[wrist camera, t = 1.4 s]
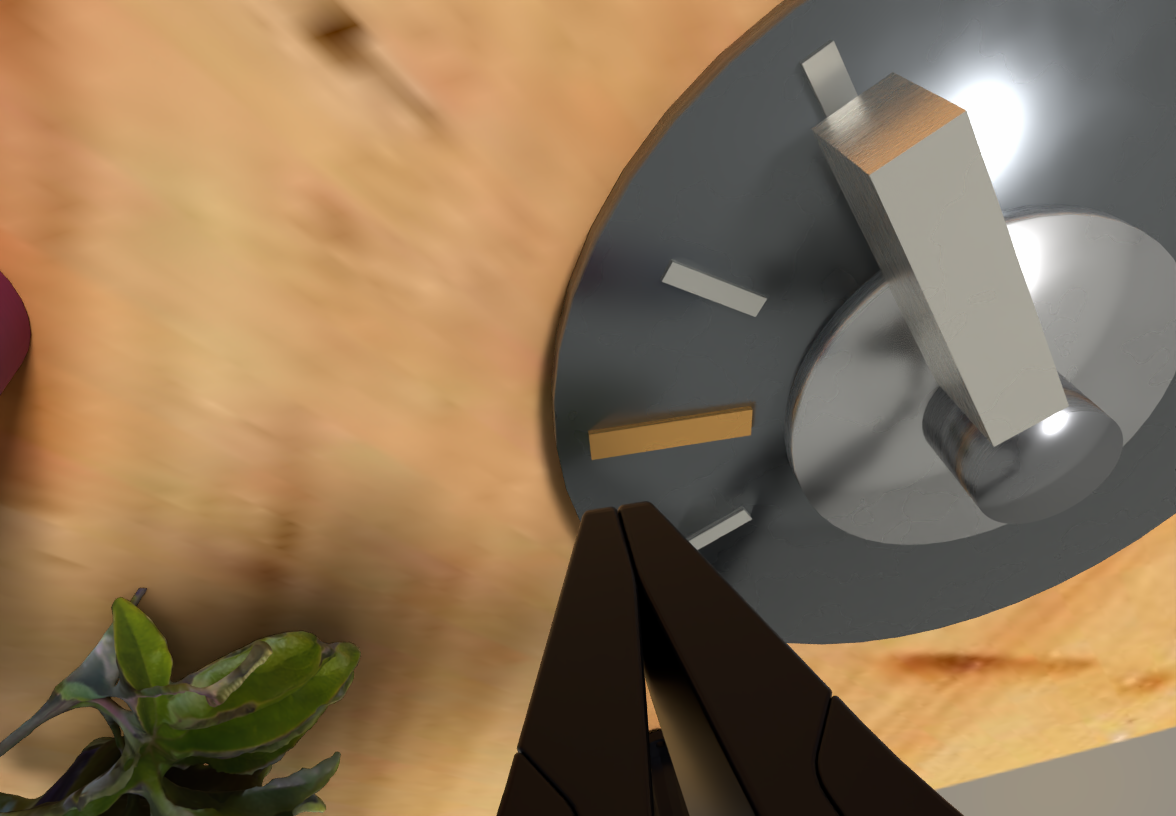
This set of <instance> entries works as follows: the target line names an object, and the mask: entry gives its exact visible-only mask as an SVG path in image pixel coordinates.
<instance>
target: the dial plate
mask: <svg viewBox="0 0 1176 816" xmlns="http://www.w3.org/2000/svg"><path fill="white" fill-rule="evenodd" d="M892 72H894V73H896V74H898V75H900V76H901V77H903V78H905V79H907V80H909V81H911V82H913V83H915V84H917V85H919V86H921V87H923V88H925V89H927V90H928V91H930V92H932V93H934V94H936V95H938V96H940V97H942V98H944V99H946V100H948V101H950V102H952V103H954V104H955V105H957V106H959V107H961V108H963V109H965V110H967V113H968V116H969V118H970V121H971V124H972V127H973V130H974V133H975V136H976V139H977V142H978V144H979V147H980V150H981V153H982V156H983V159H984V162H985V165H986V168H987V170H988V173H989V176H990V179H991V182H992V185H993V188H994V191H995V194H996V196H997V199H998V202H999V205H1000V208H1001V211H1002V210H1006V209H1011V208H1016V207H1021V206H1030V205H1043V204H1062V205H1078V206H1082V207H1087V208H1091V209H1096V210H1100V211H1103V212H1105V213H1108V214H1110V215H1112V216H1115V217H1117V218H1119V219H1122V220H1123V221H1125V222H1127V223H1129V224H1130V225H1132V226H1134V227H1136V228H1138V229H1139V230H1141V231H1143V232H1144V233H1146V234H1147V235H1149V236H1150V237H1152V238H1153V239H1154V240H1156V241H1157V242H1159V243H1160V244H1161V245H1162V246H1163V247H1164V248H1165V250H1166V251H1167V252H1168V253H1169V254H1170V255H1171V256H1172V257H1173V259H1174V260H1175V262H1176V0H784V1H783V2H781V3H780V4H779V5H777V6H776V7H775V8H774V9H773V10H771V11H770V12H769V13H768V14H767V15H766V16H764V17H763V18H762V19H761V20H760V21H759V22H757V23H756V24H755V25H754V26H753V27H751V28H750V29H749V30H748V31H747V32H746V33H744V34H743V35H742V36H741V37H740V38H738V39H737V40H736V41H735V42H734V43H733V44H731V45H730V46H729V47H728V48H727V49H725V50H724V51H723V52H722V53H721V54H720V55H719V56H718V57H717V58H716V59H715V60H714V61H713V62H712V63H711V64H710V65H709V66H708V67H707V68H706V69H705V71H704V72H703V73H702V74H701V75H700V76H699V77H698V78H697V79H696V80H695V81H694V82H693V83H692V84H691V85H690V87H689V88H688V89H687V90H686V91H685V92H684V93H683V94H682V95H681V96H680V97H679V98H678V99H677V100H676V102H675V103H674V104H673V105H672V106H671V107H670V108H669V109H668V110H667V111H666V113H665V114H664V115H663V117H662V118H661V119H660V121H659V122H658V123H657V125H656V126H655V128H654V129H653V130H652V132H651V133H650V134H649V136H648V137H647V138H646V140H645V141H644V142H643V144H642V145H641V147H640V148H639V149H638V151H637V152H636V153H635V155H634V156H633V157H632V159H631V160H630V161H629V163H628V164H627V166H626V167H625V168H624V170H623V172H622V173H621V175H620V177H619V179H618V181H617V182H616V184H615V186H614V188H613V189H612V191H611V193H610V195H609V197H608V198H607V200H606V202H605V204H604V205H603V207H602V209H601V211H600V213H599V214H598V216H597V218H596V220H595V221H594V223H593V225H592V227H591V229H590V232H589V234H588V237H587V239H586V242H585V244H584V247H583V249H582V252H581V254H580V257H579V259H578V262H577V264H576V266H575V269H574V271H573V274H572V276H571V279H570V281H569V285H568V289H567V293H566V297H565V301H564V305H563V309H562V313H561V317H560V320H559V324H558V328H557V332H556V338H555V348H554V358H553V369H552V379H551V393H552V410H553V427H554V434H555V440H556V446H557V451H558V455H559V459H560V464H561V468H562V472H563V477H564V481H565V485H566V489H567V492H568V494H569V496H570V499H571V501H572V503H573V506H574V508H575V510H576V513H577V515H578V517H579V520H580V522H581V519H582V516H583V514H584V513H585V512H586V511H587V510H593V509H599V508H605V507H615V508H616V509H617V511H618V508H619V507H620V506H621V505H623V504H630V503H636V502H642V501H648V502H651V503H652V504H653V505H654V506H656V508H657V509H658V510H659V511H660V512H661V513H662V514H663V515H664V516H665V517H666V518H667V519H668V520H669V521H670V522H671V523H672V524H673V525H674V526H675V527H676V528H677V529H678V531H679V532H680V533H681V534H682V535H683V536H684V537H685V538H686V539H687V540H688V541H689V542H690V543H691V544H692V545H693V546H694V547H695V548H696V549H697V550H698V551H699V552H700V553H701V555H702V556H703V557H704V558H705V559H706V560H707V561H708V562H709V563H710V564H711V565H712V566H713V567H714V568H715V569H716V570H717V571H718V572H719V573H720V574H721V575H722V576H723V578H724V579H725V580H726V581H727V582H728V583H729V584H730V585H731V586H732V587H733V588H734V589H735V590H736V591H737V592H738V593H739V594H740V595H741V596H742V597H743V598H744V599H745V600H746V602H747V603H748V604H749V605H750V606H751V607H752V608H753V609H754V610H755V611H756V612H757V613H758V614H759V615H760V616H761V617H762V618H763V619H764V620H765V621H766V622H767V623H768V625H769V626H770V627H771V628H772V629H773V630H774V631H775V632H776V633H777V634H778V635H779V636H780V637H781V638H782V639H783V640H784V641H785V642H786V643H800V644H837V643H856V642H866V641H873V640H881V639H888V638H895V637H901V636H906V635H911V634H915V633H920V632H925V631H929V630H934V629H938V628H942V627H945V626H949V625H952V624H956V623H959V622H962V621H966V620H969V619H973V618H976V617H979V616H982V615H985V614H988V613H990V612H993V611H996V610H998V609H1001V608H1004V607H1007V606H1009V605H1012V604H1015V603H1018V602H1020V601H1022V600H1024V599H1027V598H1029V597H1031V596H1033V595H1036V594H1038V593H1040V592H1042V591H1045V590H1047V589H1049V588H1051V587H1054V586H1056V585H1058V584H1060V583H1062V582H1064V581H1066V580H1068V579H1070V578H1072V577H1074V576H1075V575H1077V574H1079V573H1081V572H1083V571H1085V570H1087V569H1089V568H1091V567H1093V566H1095V565H1097V564H1098V563H1100V562H1102V561H1103V560H1105V559H1107V558H1108V557H1110V556H1112V555H1113V554H1115V553H1117V552H1118V551H1120V550H1122V549H1123V548H1125V547H1126V546H1128V545H1130V544H1131V543H1133V542H1135V541H1136V540H1138V539H1140V538H1141V537H1142V536H1144V535H1145V534H1147V533H1148V532H1150V531H1151V530H1152V529H1154V528H1155V527H1157V526H1158V525H1160V524H1161V523H1162V522H1164V521H1165V520H1167V519H1168V518H1170V517H1171V516H1172V515H1174V514H1175V513H1176V372H1175V374H1174V377H1173V378H1172V380H1171V382H1170V384H1169V386H1168V388H1167V389H1166V391H1165V393H1164V395H1163V397H1162V398H1161V400H1160V401H1159V403H1158V404H1157V406H1156V407H1155V409H1154V410H1153V412H1152V413H1151V415H1150V416H1149V417H1148V419H1147V420H1146V421H1145V422H1144V423H1143V425H1142V426H1141V427H1140V428H1139V430H1138V431H1137V432H1136V433H1135V434H1134V436H1133V437H1132V438H1131V439H1130V440H1129V441H1128V442H1127V443H1126V444H1125V445H1124V446H1123V447H1122V452H1121V455H1120V458H1119V460H1118V462H1117V464H1116V466H1115V467H1114V469H1113V470H1112V472H1111V473H1110V475H1109V476H1108V477H1107V478H1106V479H1105V481H1104V482H1103V483H1102V484H1101V485H1100V486H1099V487H1098V488H1097V489H1096V490H1094V491H1093V492H1092V493H1091V494H1090V495H1088V496H1087V497H1086V498H1084V499H1083V500H1082V501H1080V502H1079V503H1077V504H1076V505H1074V506H1072V507H1070V508H1069V509H1067V510H1065V511H1063V512H1061V513H1059V514H1056V515H1054V516H1051V517H1049V518H1046V519H1042V520H1039V521H1035V522H1030V523H1023V524H1006V525H1003V526H1001V527H998V528H995V529H993V530H990V531H987V532H983V533H980V534H977V535H973V536H970V537H966V538H961V539H956V540H952V541H947V542H939V543H931V544H916V545H900V544H888V543H881V542H876V541H871V540H866V539H863V538H860V537H858V536H855V535H852V534H849V533H847V532H845V531H843V530H842V529H840V528H838V527H836V526H834V525H833V524H832V523H830V522H829V521H828V520H826V519H825V518H824V517H822V516H821V515H820V514H819V513H818V511H817V510H816V509H815V508H814V507H813V506H812V505H811V504H810V502H809V500H808V499H807V497H806V495H805V494H804V492H803V490H802V489H801V487H800V485H799V483H798V481H797V479H796V477H795V475H794V474H793V471H792V468H791V466H790V463H789V460H788V457H787V452H786V446H785V440H784V433H785V415H786V409H787V403H788V398H789V395H790V392H791V389H792V386H793V383H794V380H795V377H796V375H797V373H798V371H799V368H800V366H801V364H802V362H803V360H804V358H805V356H806V354H807V352H808V351H809V349H810V348H811V346H812V344H813V343H814V341H815V340H816V338H817V336H818V335H819V333H820V332H821V331H822V329H823V328H824V327H825V325H826V324H827V323H828V322H829V320H830V319H831V318H832V317H833V315H834V314H835V313H836V312H837V310H838V309H839V308H840V307H841V306H842V305H843V304H844V303H845V302H846V301H847V300H848V299H849V298H850V297H851V296H852V295H853V294H854V293H855V292H856V291H857V290H858V289H859V288H860V287H861V286H862V285H863V284H864V283H866V282H867V281H868V280H869V279H870V278H871V277H873V276H874V275H875V274H876V273H877V272H878V271H880V268H879V266H878V264H877V262H876V259H875V257H874V255H873V253H872V251H871V249H870V247H869V245H868V243H867V241H866V239H865V237H864V235H863V233H862V231H861V229H860V227H859V225H858V223H857V221H856V219H855V217H854V215H853V213H852V211H851V209H850V207H849V205H848V203H847V201H846V199H845V196H844V194H843V192H842V190H841V188H840V186H839V184H838V182H837V180H836V178H835V176H834V174H833V172H832V170H831V168H830V166H829V164H828V162H827V160H826V158H825V156H824V154H823V152H822V150H821V148H820V146H819V144H818V142H817V140H816V138H815V136H814V133H813V131H812V128H813V127H814V126H816V125H817V124H819V123H820V122H822V121H823V120H824V119H826V118H827V117H829V116H830V115H832V114H833V113H834V112H836V111H837V110H839V109H840V108H842V107H843V106H845V105H846V104H847V103H849V102H850V101H852V100H853V99H855V98H856V97H857V96H859V95H860V94H862V93H863V92H865V91H866V90H867V89H869V88H870V87H872V86H873V85H875V84H876V83H878V82H879V81H880V80H882V79H883V78H885V77H886V76H888V75H889V74H890V73H892Z"/></svg>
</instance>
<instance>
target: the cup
mask: <svg viewBox="0 0 1176 816" xmlns="http://www.w3.org/2000/svg"><path fill="white" fill-rule="evenodd" d="M30 335H31V332H30V326H29V319H28V315H27V313H26V310H25V308H24V305H23V303H22V300H21V298H20V297H19V295H18V294H17V292H16V291H15V289H14V288H13V286H12V284H11V283H10V282H9V280H8V279H7V278H6V277H5V276H4V275H3V274H2V273H1V272H0V395H1V393H2V392H3V390H4V389H5V387H6V386H7V384H8V383H9V381H10V380H11V378H12V377H13V376H14V374H15V373H16V371H17V370H18V368H19V367H20V365H21V364H22V362H23V360H24V358H25V356H26V354H27V351H28V349H29V343H30Z"/></svg>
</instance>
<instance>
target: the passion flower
mask: <svg viewBox="0 0 1176 816" xmlns="http://www.w3.org/2000/svg"><path fill="white" fill-rule="evenodd" d="M146 590H147V588H139V589H138V591H137V592H136V594H135V595H134V597H133V598H132V599H131V601H128V600H126V599H124V598H122V597H120V598H117V599H116V600H115V601H114V603H113V605H112V607H111V608H112V614H113V623H112V624H111V626H110V627H109V628H108V630H107V631H106V632H105V634H104V635H103V637H102V638H101V640H100V641H99V643H98V644H97V646H96V647H95V648H94V649H93V650H92V652H91V653H90V654H89V655H88V657H87V658H86V659H85V660H84V662H83V663H82V664H81V665H80V666H79V667H78V668H77V669H76V670H75V671H73V672H72V673H71V674H70V675H69V676H68V677H67V678H65V679H64V680H63V681H62V682H61V683H59V684H58V685H57V686H56V687H55V688H54V690H53V692H52V694H51V696H50V698H49V699H48V700H47V702H46V703H45V704H44V705H43V706H42V707H41V709H40V710H39V711H38V712H37V713H36V714H35V715H34V716H32V717H31V718H30V719H29V720H28V721H26V722H25V723H24V724H22V725H21V726H20V727H19V728H18V729H17V730H15V731H14V732H13V733H11V734H10V735H9V736H8V737H7V738H5V739H4V740H3V741H2V742H1V743H0V757H1V756H2V755H4V754H5V753H6V752H7V751H9V750H10V749H11V748H12V747H14V746H15V745H16V744H17V743H19V742H20V741H21V740H22V739H23V738H25V737H26V736H28V735H29V734H30V733H31V732H32V731H33V730H34V729H35V728H37V727H38V726H40V725H41V724H42V723H44V722H46V721H47V720H49V719H51V718H53V717H55V716H57V715H59V714H61V713H64V712H66V711H69V710H72V709H75V708H80V707H93V708H96V709H98V710H99V711H100V713H101V714H102V715H103V716H104V718H105V719H106V721H107V723H108V725H109V726H110V728H111V730H112V732H113V734H114V737H115V738H113V737H102V738H98V739H95V740H93V741H92V742H91V743H90V744H89V745H88V746H87V747H86V748H84V749H83V751H82V753H81V754H80V755H79V756H78V757H77V758H76V760H75V762H74V763H73V764H72V765H71V767H70V768H69V769H68V770H67V772H66V773H65V774H64V775H63V776H62V777H61V778H60V779H59V780H58V781H57V782H56V783H55V784H54V785H53V786H52V787H51V788H50V789H49V790H48V791H47V792H46V793H45V794H44V795H42V796H41V797H38V798H36V799H27V798H24V797H21V796H18V795H12V794H6V793H1V792H0V816H294V815H297V814H299V813H301V812H306V811H307V812H320V813H323V812H324V811H325V810H326V805H325V804H324V802H323V801H322V800H321V799H320V798H319V797H318V796H316V795H315V793H317V792H318V791H319V790H320V789H321V788H323V787H324V786H325V785H326V784H327V783H328V781H329V780H330V778H331V777H332V776H333V775H334V774H335V772H336V771H337V768H338V766H339V762H340V756H341V753H340V752H335V753H334V755H333V756H332V757H330V758H328V759H325V760H323V761H322V762H320V763H319V764H317V765H316V766H315V767H313V768H311V769H307V768H302V769H301V770H300V771H298V772H296V773H293V774H291V775H290V776H289V777H285V778H275V779H272V780H271V781H270V782H269V783H268V784H266V785H265V786H263V787H262V782H263V779H264V777H265V776H267V775H268V774H269V772H270V770H271V769H272V764H275V763H276V762H278V761H279V760H281V759H282V757H283V756H284V755H285V753H286V752H287V751H288V750H290V749H292V748H293V747H294V746H295V745H296V743H297V742H298V741H299V740H300V739H301V737H302V736H303V735H304V734H305V733H306V732H307V731H308V730H309V729H311V728H312V726H313V725H314V724H315V723H316V722H317V720H318V719H319V717H320V716H321V715H322V714H323V713H324V711H325V710H326V708H327V707H328V705H330V704H333V703H335V702H337V701H339V700H341V699H342V698H343V697H344V695H345V694H346V692H347V690H348V688H349V686H350V685H351V683H352V681H353V679H354V669H355V668H356V667H357V665H358V662H359V660H360V657H361V652H360V650H359V647H357V646H356V645H355V644H353V643H351V642H335V643H331V644H327V643H324V642H321V641H320V640H319V639H318V638H317V637H316V635H314V634H312V633H309V632H305V631H298V632H286V633H281V634H276V635H272V636H268V637H264V638H261V639H258V640H256V641H254V642H252V643H250V644H249V645H247V646H245V647H243V648H241V649H239V650H236V651H233V652H231V653H229V654H227V655H225V656H223V657H221V658H219V659H217V660H215V661H213V662H212V663H210V664H208V665H206V666H205V667H203V668H202V669H200V670H199V671H196V672H194V673H191V674H189V675H187V676H186V677H185V678H184V679H182V680H181V681H178V682H176V683H174V682H172V681H171V673H172V668H173V658H172V656H171V654H170V653H169V651H168V645H167V640H166V638H165V637H164V635H163V634H162V633H161V632H160V631H159V630H158V628H157V627H156V625H155V624H154V623H153V621H152V620H151V619H150V618H149V617H148V616H147V615H146V614H145V613H143V612H142V611H141V610H140V609H138V608H137V605H138V603H139V602H140V600H141V598H142V596H143V595H144V594H145V592H146ZM118 679H119V682H118V684H117V685H116V683H117V681H118ZM111 697H118V698H120V699H122V700H124V701H125V702H126V703H127V704H128V706H129V707H130V709H131V710H132V711H128V710H125V709H123V708H122V707H121V706H119V705H118V704H117V703H116V702H115V701H113V700H112V699H111ZM120 727H121V729H122V730H123V732H124V736H121V730H120ZM204 763H207V764H209V765H204Z"/></svg>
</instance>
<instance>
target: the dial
mask: <svg viewBox="0 0 1176 816" xmlns="http://www.w3.org/2000/svg"><path fill="white" fill-rule="evenodd" d="M812 131H813V133H814V136H815V138H816V140H817V142H818V144H819V146H820V148H821V150H822V152H823V154H824V156H825V158H826V160H827V162H828V164H829V166H830V168H831V170H832V172H833V174H834V176H835V178H836V180H837V182H838V184H839V186H840V188H841V190H842V192H843V194H844V196H845V199H846V201H847V203H848V205H849V207H850V209H851V211H852V213H853V215H854V217H855V219H856V221H857V223H858V225H859V227H860V229H861V231H862V233H863V235H864V237H865V239H866V241H867V243H868V245H869V247H870V249H871V251H872V253H873V255H874V257H875V259H876V262H877V264H878V266H879V268H880V271H878V272H877V273H876V274H875V275H874V276H873V277H871V278H870V279H869V280H868V281H867V282H866V283H864V284H863V285H862V286H861V287H860V288H859V289H858V290H857V291H856V292H855V293H854V294H853V295H852V296H851V297H850V298H849V299H848V300H847V301H846V302H845V303H844V304H843V305H842V306H841V307H840V308H839V309H838V310H837V312H836V313H835V314H834V315H833V317H832V318H831V319H830V320H829V322H828V323H827V324H826V325H825V327H824V328H823V329H822V331H821V332H820V333H819V335H818V336H817V338H816V340H815V341H814V343H813V344H812V346H811V348H810V349H809V351H808V352H807V354H806V356H805V358H804V360H803V362H802V364H801V366H800V368H799V371H798V373H797V375H796V377H795V380H794V383H793V386H792V389H791V392H790V395H789V398H788V403H787V409H786V415H785V433H784V440H785V446H786V452H787V457H788V460H789V463H790V466H791V468H792V471H793V474H794V475H795V477H796V479H797V481H798V483H799V485H800V487H801V489H802V490H803V492H804V494H805V495H806V497H807V499H808V500H809V502H810V504H811V505H812V506H813V507H814V508H815V509H816V510H817V511H818V513H819V514H820V515H821V516H822V517H824V518H825V519H826V520H828V521H829V522H830V523H832V524H833V525H834V526H836V527H838V528H840V529H842V530H843V531H845V532H847V533H849V534H852V535H855V536H858V537H860V538H863V539H866V540H871V541H876V542H881V543H888V544H900V545H916V544H931V543H939V542H947V541H952V540H956V539H961V538H966V537H970V536H973V535H977V534H980V533H983V532H987V531H990V530H993V529H995V528H998V527H1001V526H1003V525H1006V524H1023V523H1030V522H1035V521H1039V520H1042V519H1046V518H1049V517H1051V516H1054V515H1056V514H1059V513H1061V512H1063V511H1065V510H1067V509H1069V508H1070V507H1072V506H1074V505H1076V504H1077V503H1079V502H1080V501H1082V500H1083V499H1084V498H1086V497H1087V496H1088V495H1090V494H1091V493H1092V492H1093V491H1094V490H1096V489H1097V488H1098V487H1099V486H1100V485H1101V484H1102V483H1103V482H1104V481H1105V479H1106V478H1107V477H1108V476H1109V475H1110V473H1111V472H1112V470H1113V469H1114V467H1115V466H1116V464H1117V462H1118V460H1119V458H1120V455H1121V452H1122V447H1123V446H1124V445H1125V444H1126V443H1127V442H1128V441H1129V440H1130V439H1131V438H1132V437H1133V436H1134V434H1135V433H1136V432H1137V431H1138V430H1139V428H1140V427H1141V426H1142V425H1143V423H1144V422H1145V421H1146V420H1147V419H1148V417H1149V416H1150V415H1151V413H1152V412H1153V410H1154V409H1155V407H1156V406H1157V404H1158V403H1159V401H1160V400H1161V398H1162V397H1163V395H1164V393H1165V391H1166V389H1167V388H1168V386H1169V384H1170V382H1171V380H1172V378H1173V377H1174V374H1175V372H1176V262H1175V260H1174V259H1173V257H1172V256H1171V255H1170V254H1169V253H1168V252H1167V251H1166V250H1165V248H1164V247H1163V246H1162V245H1161V244H1160V243H1159V242H1157V241H1156V240H1154V239H1153V238H1152V237H1150V236H1149V235H1147V234H1146V233H1144V232H1143V231H1141V230H1139V229H1138V228H1136V227H1134V226H1132V225H1130V224H1129V223H1127V222H1125V221H1123V220H1122V219H1119V218H1117V217H1115V216H1112V215H1110V214H1108V213H1105V212H1103V211H1100V210H1096V209H1091V208H1087V207H1082V206H1078V205H1062V204H1043V205H1030V206H1021V207H1016V208H1011V209H1006V210H1002V211H1001V208H1000V205H999V202H998V199H997V196H996V194H995V191H994V188H993V185H992V182H991V179H990V176H989V173H988V170H987V168H986V165H985V162H984V159H983V156H982V153H981V150H980V147H979V144H978V142H977V139H976V136H975V133H974V130H973V127H972V124H971V121H970V118H969V116H968V113H967V110H965V109H963V108H961V107H959V106H957V105H955V104H954V103H952V102H950V101H948V100H946V99H944V98H942V97H940V96H938V95H936V94H934V93H932V92H930V91H928V90H927V89H925V88H923V87H921V86H919V85H917V84H915V83H913V82H911V81H909V80H907V79H905V78H903V77H901V76H900V75H898V74H896V73H894V72H892V73H890V74H889V75H888V76H886V77H885V78H883V79H882V80H880V81H879V82H878V83H876V84H875V85H873V86H872V87H870V88H869V89H867V90H866V91H865V92H863V93H862V94H860V95H859V96H857V97H856V98H855V99H853V100H852V101H850V102H849V103H847V104H846V105H845V106H843V107H842V108H840V109H839V110H837V111H836V112H834V113H833V114H832V115H830V116H829V117H827V118H826V119H824V120H823V121H822V122H820V123H819V124H817V125H816V126H814V127H813V128H812Z"/></svg>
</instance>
